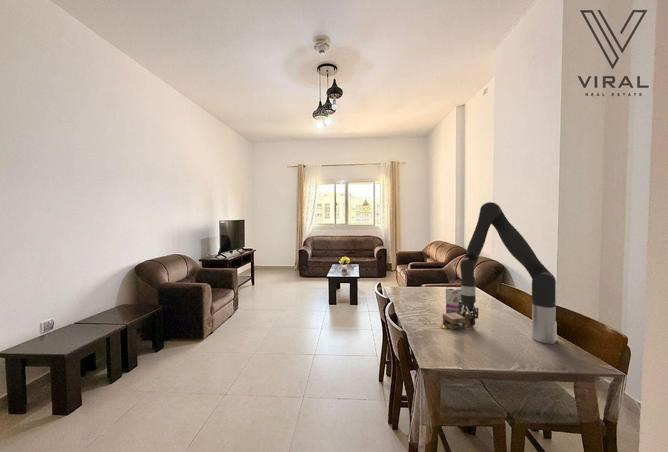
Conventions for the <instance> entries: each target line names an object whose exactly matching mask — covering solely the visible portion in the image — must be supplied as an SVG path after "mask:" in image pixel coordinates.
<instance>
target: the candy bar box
mask: <svg viewBox="0 0 668 452" xmlns="http://www.w3.org/2000/svg"><path fill="white" fill-rule="evenodd" d="M459 301H461V287H448V286H446V288H445V312H446V313H457V314H459V315H461V316H462V314H461V312H459ZM461 309H462V308H461Z"/></svg>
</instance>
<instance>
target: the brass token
mask: <svg viewBox="0 0 668 452" xmlns="http://www.w3.org/2000/svg"><path fill="white" fill-rule="evenodd" d="M439 327H440V329H443V330H448V329H449V328H448V326H447V325H443V324H440V325H439Z"/></svg>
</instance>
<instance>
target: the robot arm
mask: <svg viewBox="0 0 668 452" xmlns="http://www.w3.org/2000/svg"><path fill="white" fill-rule="evenodd" d="M479 209H480V210H479V214H478V219H477V223H476V226H475V228H474V231H473V234H472V237H471V238H470V241H469V242H468V245H467V249H466V252H465V255H464V257H463V259H462V260H461V261H460V266H459V269H460V275H461V277H460V278H461V281H460V283H461V285H460V288H461V301H459V312H461V314H462V316H463V317H465V314H469V315H470V325H473V326H475V325H476V320H477V319H479V308H478V307H475V303H476V301H477V299H476V296H477V294H476V291H477V290H476V278H475V268H476V265H477V262H478V260H479V257H480V254H481V253H482V251H483V248H484V245H485V242H486V240H487V235H488V232H489V230H490V227H491V226H493V228H494V230H496V233H497V234H498V236H499V238H500V240H501V241H502V243H503V246H505V248H506V250H507V251H508V252H509V253H510V254H511V256H512V257H513V258H514V259H516V261H517V262H518V263H520V264H521V265H522V266H523V268H525V270H526V271H527V273H528V274H529V277H530V278H531V279H532V280H531V301H532V302H531V303H532V304H531V305H532V306H531V307H532V308H531V313H532V314H531V318H532V319H531V320H532V321H531V337H532V339H533V340H534V341H537V342H539V343H542V344H543V343H544V344H550V345H551V344H552V345H555V343H556V342H557V331H558V330H557V326H558V323H557V321H556V314H557V313H556V308H557V307H556V305H557V304H556V303H557V301H556V300H557V298H556V295H557V294H556V293H557V292H556V289H557V288H556V286H557V285H556V284H557V283H556V282H557V280H556V277H555V276H554V275H553V273H551V272H550V271H549V270H548V269H547V267H546V266H544V264H543V263H542V262H541V260H540V259H539V258H538V256H537V255H536V253H535V252H534V250H533V249H532V247H531V246H530V245H529V243H528V242H527V240H526V239H525V238H524V237H523V235H522V234H521V233H520V231H518V229H517V228H516V227H515V226H514V225H513V224H512V223H511V222H510V221H509V219H508V218H507V216H506V215H505V214H504V212H503V210H502V209H501V206H500V205H499V204H498V203H496V202H493V201H488V202H485V203H483V204H482V205H481V206H480V208H479ZM461 308H462V309H461ZM472 315H473V316H472Z"/></svg>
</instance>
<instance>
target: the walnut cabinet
mask: <svg viewBox="0 0 668 452" xmlns="http://www.w3.org/2000/svg"><path fill="white" fill-rule="evenodd" d="M455 323H462V327H461V328H462V329H463V330H465V329H466V318H465V317H463V316H461V315H459V314H457V313H442V325H445V324H451V328H450V330H451V331H455V328H454V324H455Z"/></svg>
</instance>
